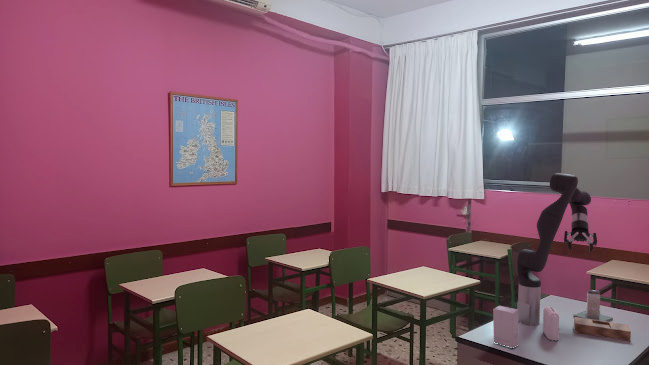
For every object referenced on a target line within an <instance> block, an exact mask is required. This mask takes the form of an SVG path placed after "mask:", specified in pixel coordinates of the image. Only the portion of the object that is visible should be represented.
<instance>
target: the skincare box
mask: <svg viewBox="0 0 649 365" xmlns="http://www.w3.org/2000/svg"><path fill="white" fill-rule="evenodd" d="M492 312H493V316H492V317H493V319H492V321H493V325H492V326H493V343H494V342H495V343H498V344H501V345H505V346H509V347H512V348H513V347H515V346H517V345H518V344H519V345H520V335H519V334H520V332H519V330H520V329H519V328H520V327H519V322H518V309H517V308H512V307H509V306H502V305H498V306H496V307H494V308H493V309H492ZM519 345H518V346H519ZM518 346H517V347H518Z"/></svg>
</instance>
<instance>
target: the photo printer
mask: <svg viewBox="0 0 649 365" xmlns="http://www.w3.org/2000/svg"><path fill="white" fill-rule="evenodd" d="M542 311H543V312H542V313H543V314H542V315H543V316H542V318H543V319H542V333H543V334H544V335H545V337H547V339H548V340H550V341H553V340H555V341H558V340H559V335H560V333H559V331H560V315H559V313H558V311H557V310H556V309H555V307H553V306H552V305H551V306H550V305H549V306H548V305H546V306H544V308H543V310H542Z"/></svg>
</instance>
